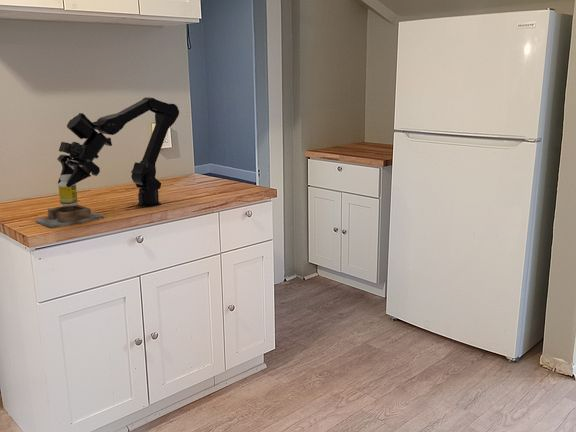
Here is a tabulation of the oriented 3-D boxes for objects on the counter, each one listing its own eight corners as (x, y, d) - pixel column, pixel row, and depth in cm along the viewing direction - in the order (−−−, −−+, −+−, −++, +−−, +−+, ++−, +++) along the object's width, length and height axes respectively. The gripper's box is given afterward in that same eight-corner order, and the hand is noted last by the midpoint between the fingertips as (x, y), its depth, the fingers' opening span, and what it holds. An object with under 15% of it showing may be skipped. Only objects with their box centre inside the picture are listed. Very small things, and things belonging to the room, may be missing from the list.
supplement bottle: (75, 205, 183) (72, 176, 180) (58, 206, 182) (54, 177, 180) (79, 202, 188) (76, 173, 185) (63, 202, 187) (59, 174, 185)
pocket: (86, 212, 196) (85, 201, 196) (104, 218, 188) (103, 207, 188) (35, 221, 184) (34, 210, 183) (51, 228, 176) (50, 216, 175)
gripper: (59, 130, 188) (31, 167, 183) (87, 134, 176) (57, 173, 171) (84, 151, 196) (57, 187, 191) (112, 156, 183) (84, 194, 178)
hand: (63, 185), depth 182 cm, fingers closed on supplement bottle, 5 cm apart
